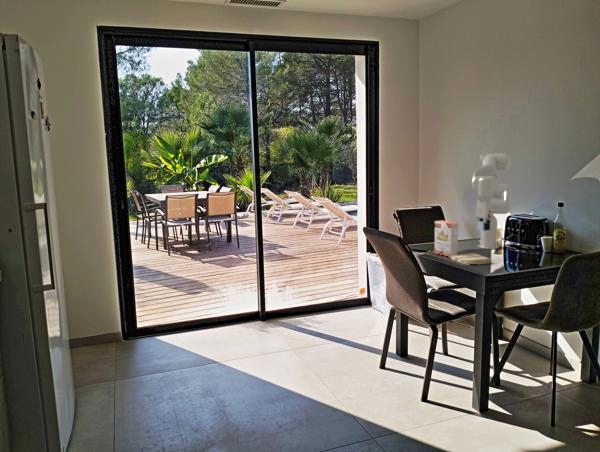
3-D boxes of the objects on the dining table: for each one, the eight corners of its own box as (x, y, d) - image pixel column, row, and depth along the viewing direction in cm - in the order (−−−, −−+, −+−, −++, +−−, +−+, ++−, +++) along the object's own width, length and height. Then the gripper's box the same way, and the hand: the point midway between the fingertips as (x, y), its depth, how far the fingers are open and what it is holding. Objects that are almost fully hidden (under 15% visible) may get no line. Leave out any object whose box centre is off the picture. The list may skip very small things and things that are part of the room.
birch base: (450, 259, 283) (450, 255, 283) (474, 257, 287) (474, 253, 286) (465, 265, 268) (465, 261, 267) (490, 263, 272) (491, 258, 271)
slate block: (477, 229, 288) (477, 221, 287) (485, 229, 289) (485, 220, 288) (482, 231, 283) (483, 222, 282) (490, 230, 284) (490, 222, 283)
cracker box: (433, 254, 298) (434, 220, 295) (441, 253, 301) (441, 219, 298) (450, 258, 286) (451, 223, 283) (457, 257, 289) (458, 222, 285)
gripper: (470, 197, 290) (470, 227, 293) (488, 200, 274) (487, 232, 277) (481, 196, 292) (481, 226, 295) (499, 199, 276) (498, 231, 279)
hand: (484, 228), depth 286 cm, fingers closed on slate block, 5 cm apart
